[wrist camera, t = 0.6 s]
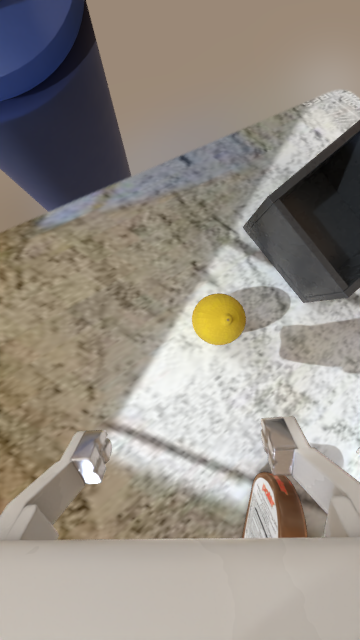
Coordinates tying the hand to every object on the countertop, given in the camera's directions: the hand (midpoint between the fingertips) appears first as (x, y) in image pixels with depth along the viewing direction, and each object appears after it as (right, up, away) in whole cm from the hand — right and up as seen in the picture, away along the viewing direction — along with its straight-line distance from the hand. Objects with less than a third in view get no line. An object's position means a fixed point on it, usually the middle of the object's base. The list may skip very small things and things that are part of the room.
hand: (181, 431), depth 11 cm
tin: (+9, -19, +17) cm, 27 cm away
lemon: (+4, +6, +16) cm, 18 cm away
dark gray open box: (+17, +17, +17) cm, 29 cm away
